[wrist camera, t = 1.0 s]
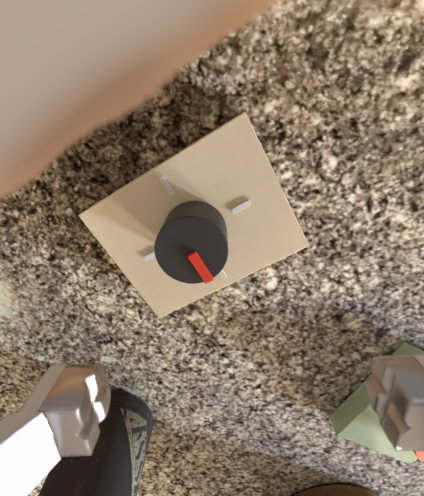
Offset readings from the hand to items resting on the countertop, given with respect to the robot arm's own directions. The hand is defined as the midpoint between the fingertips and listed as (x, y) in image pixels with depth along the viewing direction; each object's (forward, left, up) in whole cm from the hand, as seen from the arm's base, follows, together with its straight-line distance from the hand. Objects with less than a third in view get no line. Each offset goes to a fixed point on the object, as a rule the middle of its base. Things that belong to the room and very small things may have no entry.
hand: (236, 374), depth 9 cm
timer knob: (+1, -2, -12) cm, 13 cm away
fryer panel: (+1, -2, -15) cm, 16 cm away
